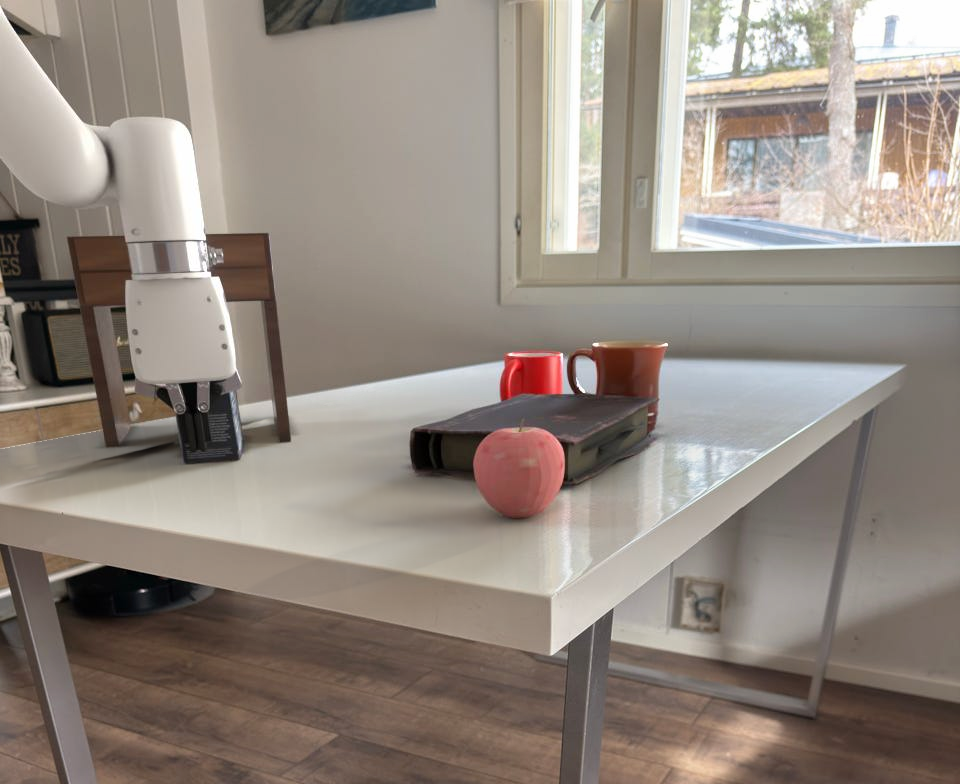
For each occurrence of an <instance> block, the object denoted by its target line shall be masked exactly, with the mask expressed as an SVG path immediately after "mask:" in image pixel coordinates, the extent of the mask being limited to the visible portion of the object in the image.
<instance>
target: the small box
mask: <svg viewBox="0 0 960 784" xmlns="http://www.w3.org/2000/svg"><path fill="white" fill-rule="evenodd" d="M223 380H225V379H223ZM219 381H222V380H216V381H210V386H211V385H212V384H213V383H216V382H219ZM181 386H182V389H183V392H184V396H185V399H186V402H187V403H188V404H189V405H190V409H191V411H193V412H195V405H196V404H197V382H187V383H181ZM237 391H238V390H235V391H231V392H228V393H225V394H222V395H220V396H219V397H218V399H217V400H216V401H215V402H214V404H213V405H212V406H211V407H210V409H209V410H208V413H209V419H210V426H211V433H212V442H207V450H206V451H204V452H201V450H200V451H199V447H198V451H196V452H191V451H190V445H189V443H186V444H183V441H182V435H181V429H180V423H179V417H178V414H177V413H176V412H175V411H174V414H175V420H176V426H177V432H178V433H177V434H178V438H179V443H180V450H181V454H182V455H181V456H182V460H183V464H185V465H187V464H199V463H216V462H228V461H230V462H231V461H240V460H241V459H242V456H243V451H244V445H245V438H244V431H243V426H242V419H241V413H240V408H239V400H238V392H237Z"/></svg>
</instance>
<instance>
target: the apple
mask: <svg viewBox="0 0 960 784" xmlns="http://www.w3.org/2000/svg"><path fill="white" fill-rule="evenodd" d="M524 420H525V419H524V418H523V420H522V422H521V425H520V428H505V429H500V430H497V431H494V432H493V433H491V434H489V435H488V436H487V437H486V438H484V440H483V441H482V442H481V443H480V445H479V446H478V448H477V450H476V454H475V457H474V463H473V467H474V474H475V483H476V486H477V488H478V490H479V492H480V494H481V496H482V498H483V499H484V501H485V502H486V503H487V504H488V505H489V506H490V507H491V508H492V509H493V510H494V511H496V512H498V513H499V514H501V515H503V516H506V517H508V518H512V519H521V518H530V517H533V516H536V515H538V514H540V513H542V512H544V511H545V510H546V509H547V508H548V507H549V506H550V505H551V504H552V503H553V502H554V500H555V499H556V498H557V495H558V493H559V491H560V489H561V487H562V486H563V485H562V482H563V478H564V469H565V458H564V451H563V448H562V446H561V444H560V443H559V441H558V440H557V439H556V438H555V437H554V436H553V435H552V434H551V433H549V432H547V431H546V430H543V429H540V428H534V427H523V423H524Z"/></svg>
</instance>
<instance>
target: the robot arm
mask: <svg viewBox="0 0 960 784" xmlns="http://www.w3.org/2000/svg"><path fill="white" fill-rule="evenodd" d="M0 160H1V161H2V162H3V164H4V165H5V166H6V167H7V169H9V171H10V172H11V173H12V174H13V176H15V178H16V179H17V180H18V181H19V182H20V183H21V184H22V185H23V187H25V188H26V189H27V190H28V191H30V192H31V193H32V194H34V195H35V196H37V197H39V198H40V199H42V200H45V201H47V202H50V203H53V204H56V205H58V206H62V207H65V208H67V209H68V208H69V209H71V210H91V209H92V210H93V209H98V208H103V207H109V206H115V205H119V211H120V217H121V222H122V229H123V233H124V234H123V235H125V240H126V243H127V244H126V247H127V252H128V258H129V264H130V270H131V274H132V280H126V285H125V302H126V305H125V315H126V316H125V319H126V329H127V336H128V345H129V352H130V358H131V364H132V370H133V373H134V393H135V394H136V395H137V396H141V397H146V398H151V399H158V400H160V401H162V402H163V403H164V404H165V405H167V406H168V407H169V408H170V409H172V410H173V411H174V413H175V412H176V413H177V414H178V417H179V423H180V429H181V435H182V441H183V444H186V443H189V445H190V451H191V452H196V451H198V447H199V451H200V450H201V452H204V451H206V450H207V442H212V433H211V426H210V419H209V413H208V410H209V409H210V407H211V406H212V405H213V404H214V402H215V401H216V400H217V399H218V397H219V396H220V395H222V394H225V393H228V392H231V391H235V390H236V391H238V390H240V389H242V387H243V381H242V378H241V375H240V373H239V371H238V368H237V366H238V365H237V363H238V362H237V361H238V359H237V352H236V344H235V339H234V334H233V333H234V332H233V329H232V321H231V318H230V312H229V308H228V302H226V299H225V295H224V291H223V288H222V285H221V282H220V279H219V277H211V272H208V270H210V267H213V265H217V263H224V259H223V251H222V249H214V247H213V248H210V246H207V243H206V242H203V241H206V237H205V234H206V230H205V222H204V216H203V209H202V201H201V193H200V187H199V179H198V174H197V166H196V158H195V152H194V145H193V139H192V136H191V133H190V131H189V129H188V128H187V127H186V125H184V124H183V122H181V121H178V120H176V119H173V118H170V117H169V118H168V117H161V116H132V117H124V118H120V119H117V120H115V121H113V123H111V124H110V126H104V125H103V126H102V125H94V124H93V125H92V124H89V123H85V122H84V121H82V120H81V118H80V117H79V116H78V115H77V113H76V112H75V110H74V109H73V108H72V107H71V105H70V104H69V103H68V101H67V100H66V99H65V98H64V96H63V95H62V93H60V91H59V90H58V88H57V87H56V85H54V84H53V82H52V80H51V79H50V78H49V76H48V75H47V74H46V73H45V71H44V70H43V68H42V67H41V66H40V65H39V63H38V61H36V59H35V58H34V56H33V55H32V54H31V52H30V51H29V50H28V48H27V46H26V45H25V44H24V43H23V41H22V39H21V38H20V37H19V35H18V33H17V32H16V31H15V29H14V28H13V26H12V24H11V23H10V21H9V19H8V18H7V16H6V15H5V12H4V11H3V8H2V6H1V5H0ZM223 379H225V380H223ZM216 380H222V381H219V382H216V383H213V384H212V385H211V386H210V381H216ZM187 382H197V404H196V405H195V412H193V411H191V409H190V405H189V404H188V403H187V402H186V399H185V396H184V392H183V389H182V386H181V383H187Z"/></svg>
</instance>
